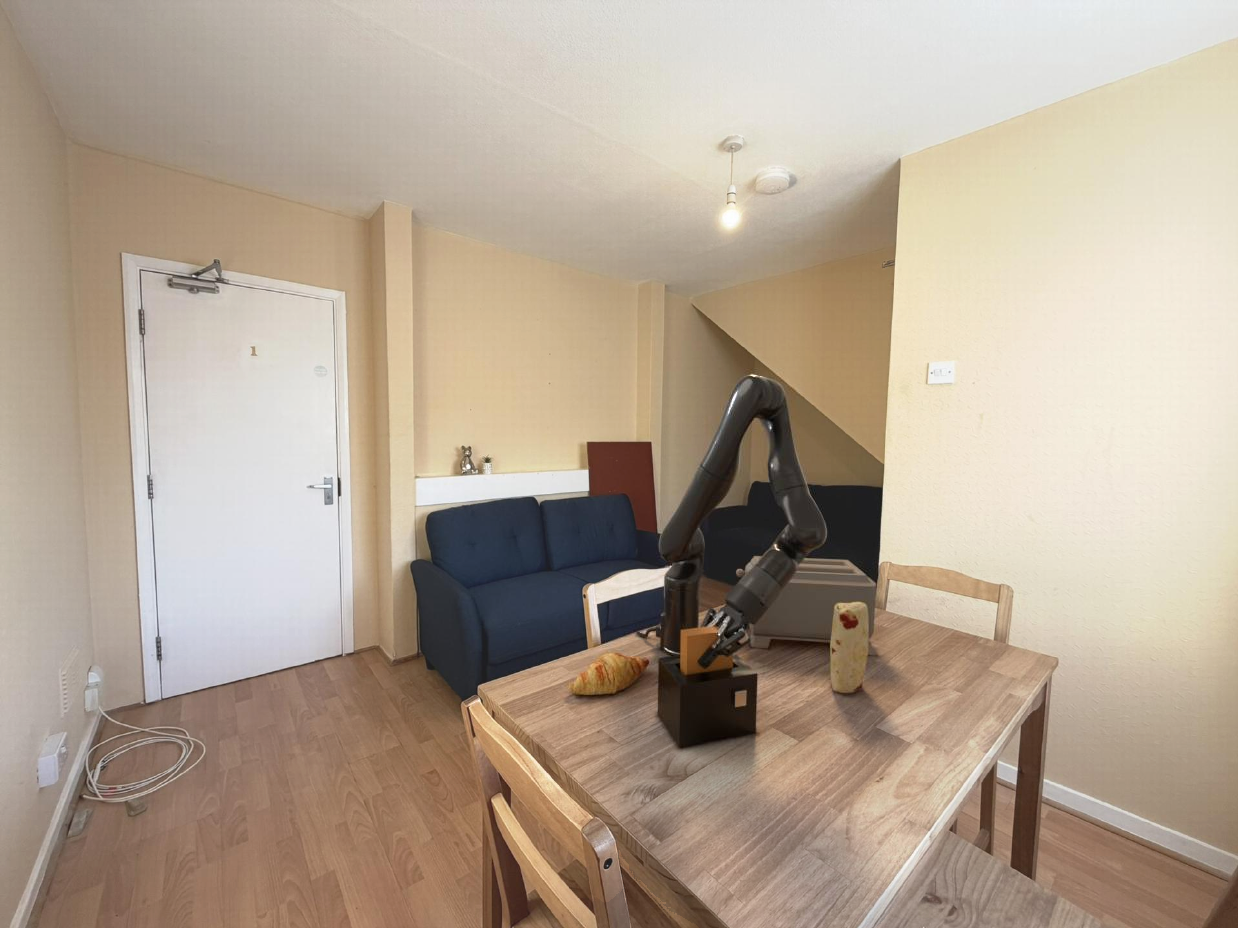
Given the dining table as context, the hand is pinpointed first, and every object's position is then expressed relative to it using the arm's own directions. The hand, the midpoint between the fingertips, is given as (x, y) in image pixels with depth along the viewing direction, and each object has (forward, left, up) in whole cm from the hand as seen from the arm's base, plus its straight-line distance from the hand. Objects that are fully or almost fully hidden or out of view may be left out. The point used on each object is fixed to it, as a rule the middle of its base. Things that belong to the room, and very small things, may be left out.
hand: (697, 660), depth 95 cm
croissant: (-23, +5, -13) cm, 27 cm away
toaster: (+11, +54, -13) cm, 56 cm away
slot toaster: (+1, +1, -13) cm, 13 cm away
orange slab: (+1, +1, -4) cm, 4 cm away
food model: (+25, +29, -13) cm, 41 cm away
